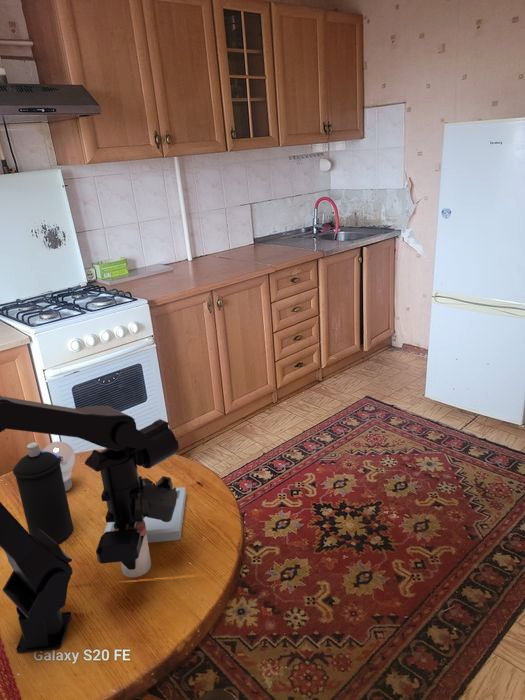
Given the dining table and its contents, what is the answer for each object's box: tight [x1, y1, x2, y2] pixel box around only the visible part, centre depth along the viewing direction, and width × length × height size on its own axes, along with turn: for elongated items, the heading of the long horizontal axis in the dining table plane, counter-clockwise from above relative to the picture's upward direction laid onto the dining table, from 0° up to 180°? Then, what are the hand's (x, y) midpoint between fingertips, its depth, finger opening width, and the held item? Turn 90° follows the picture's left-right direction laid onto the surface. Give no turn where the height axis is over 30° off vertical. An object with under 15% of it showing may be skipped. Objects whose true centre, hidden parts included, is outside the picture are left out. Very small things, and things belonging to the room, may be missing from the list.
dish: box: [103, 486, 187, 544], centre depth 105 cm, size 14×14×2 cm
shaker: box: [114, 520, 152, 581], centre depth 92 cm, size 5×5×9 cm
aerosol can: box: [12, 441, 74, 546], centre depth 100 cm, size 8×8×20 cm
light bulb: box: [42, 441, 76, 493], centre depth 115 cm, size 7×7×12 cm
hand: (135, 557), depth 93 cm, fingers closed on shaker, 5 cm apart
